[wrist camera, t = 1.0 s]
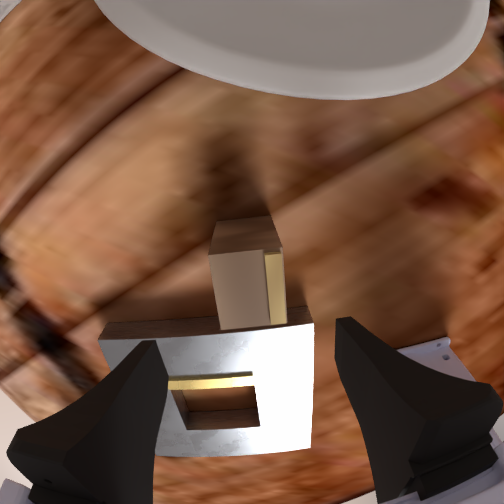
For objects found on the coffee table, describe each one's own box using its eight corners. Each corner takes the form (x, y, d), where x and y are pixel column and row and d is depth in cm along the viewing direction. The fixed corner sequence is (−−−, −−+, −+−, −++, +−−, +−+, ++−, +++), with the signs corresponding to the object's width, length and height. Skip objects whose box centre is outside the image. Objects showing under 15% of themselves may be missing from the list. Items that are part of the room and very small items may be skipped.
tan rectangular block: (270, 215, 21) (283, 249, 15) (275, 275, 22) (288, 326, 17) (216, 221, 21) (207, 257, 15) (225, 280, 22) (220, 333, 17)
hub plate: (307, 305, 23) (314, 325, 21) (306, 430, 29) (310, 449, 27) (107, 322, 23) (96, 342, 21) (159, 438, 29) (156, 457, 27)
